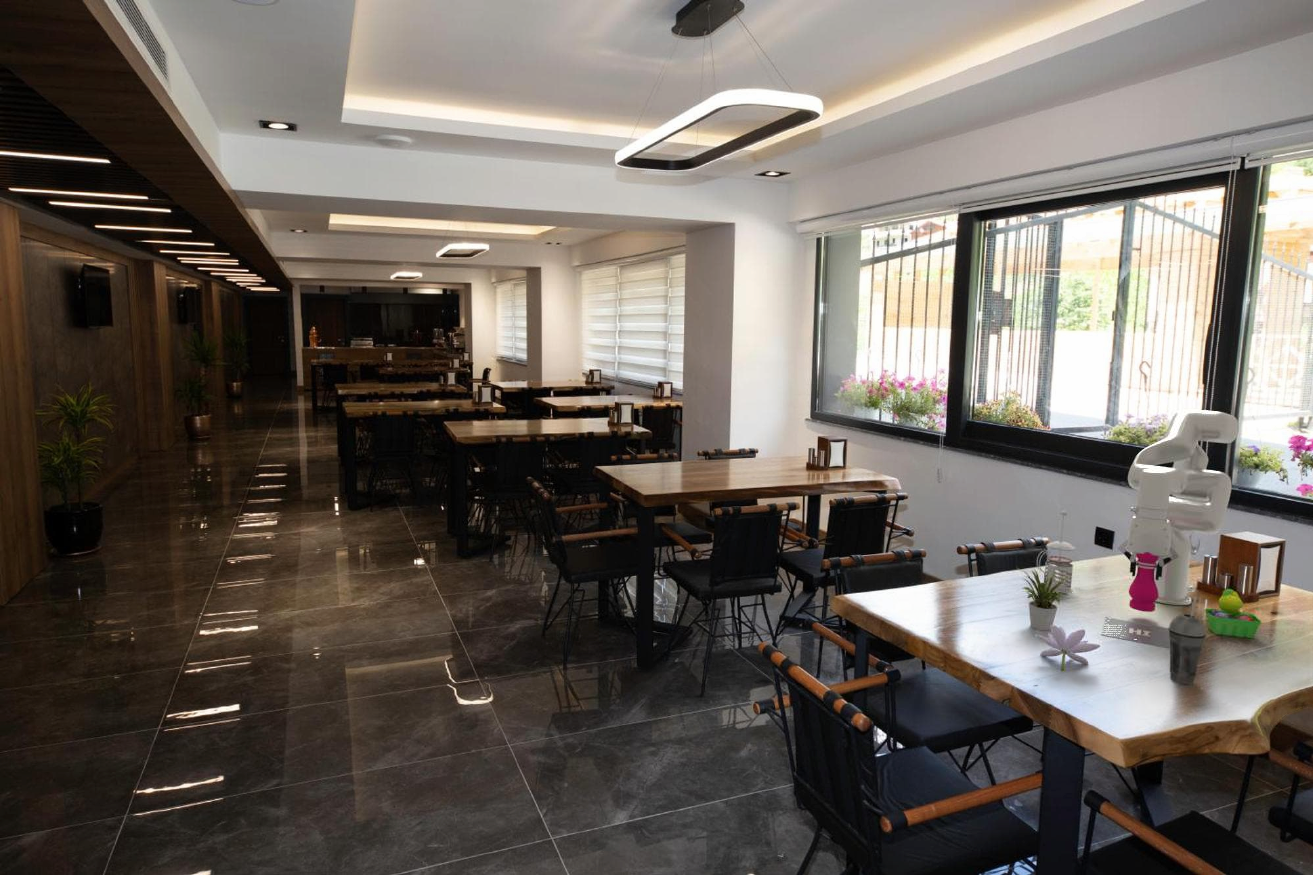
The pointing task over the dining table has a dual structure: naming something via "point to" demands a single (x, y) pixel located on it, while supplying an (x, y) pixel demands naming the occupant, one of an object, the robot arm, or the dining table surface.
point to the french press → (1059, 565)
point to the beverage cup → (1185, 646)
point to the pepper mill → (1144, 584)
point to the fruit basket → (1232, 617)
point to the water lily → (1067, 645)
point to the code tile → (1139, 632)
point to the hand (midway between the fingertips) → (1145, 576)
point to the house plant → (1042, 602)
